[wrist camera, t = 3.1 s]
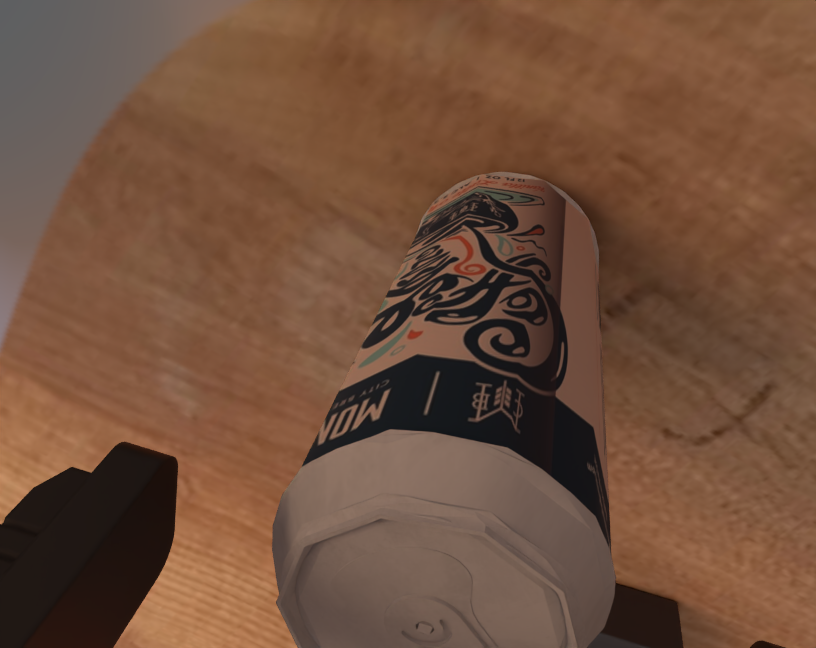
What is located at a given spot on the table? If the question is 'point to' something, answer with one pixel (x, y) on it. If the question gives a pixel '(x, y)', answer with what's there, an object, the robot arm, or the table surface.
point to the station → (640, 622)
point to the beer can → (464, 444)
